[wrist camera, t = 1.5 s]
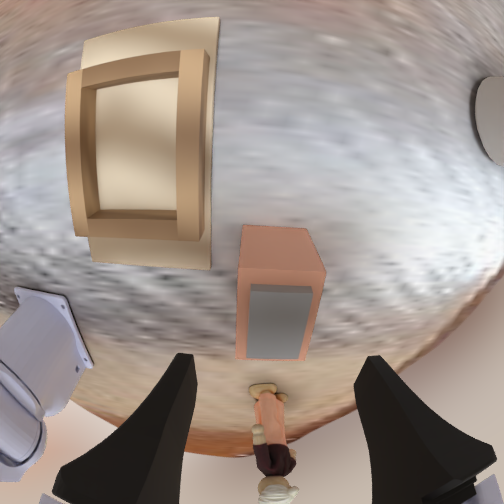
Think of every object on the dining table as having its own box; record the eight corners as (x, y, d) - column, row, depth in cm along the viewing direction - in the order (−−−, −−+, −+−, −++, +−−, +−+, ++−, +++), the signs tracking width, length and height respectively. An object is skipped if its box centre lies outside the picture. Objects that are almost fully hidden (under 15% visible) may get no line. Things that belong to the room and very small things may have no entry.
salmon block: (294, 305, 20) (306, 368, 14) (239, 302, 20) (234, 366, 14) (306, 228, 17) (329, 278, 12) (243, 224, 17) (237, 274, 11)
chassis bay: (211, 265, 18) (205, 285, 16) (96, 257, 18) (80, 273, 16) (220, 20, 11) (214, 4, 9) (89, 42, 11) (69, 35, 9)
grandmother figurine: (231, 387, 24) (222, 507, 13) (261, 372, 23) (263, 504, 12) (278, 414, 27) (284, 514, 15) (307, 402, 25) (320, 508, 14)
